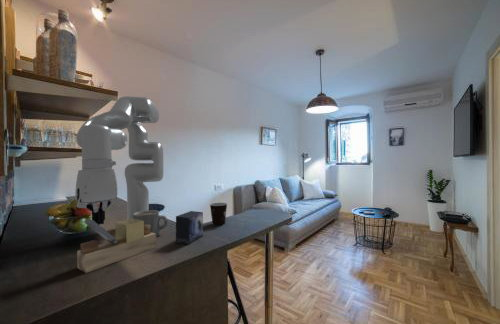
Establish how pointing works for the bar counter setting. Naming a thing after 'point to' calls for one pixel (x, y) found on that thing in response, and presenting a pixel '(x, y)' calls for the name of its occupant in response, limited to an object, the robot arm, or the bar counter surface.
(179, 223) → the small box
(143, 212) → the coffee mug
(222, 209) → the coffee mug
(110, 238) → the lever
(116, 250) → the wooden block plane
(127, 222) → the olive cube-like block
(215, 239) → the bar counter surface
